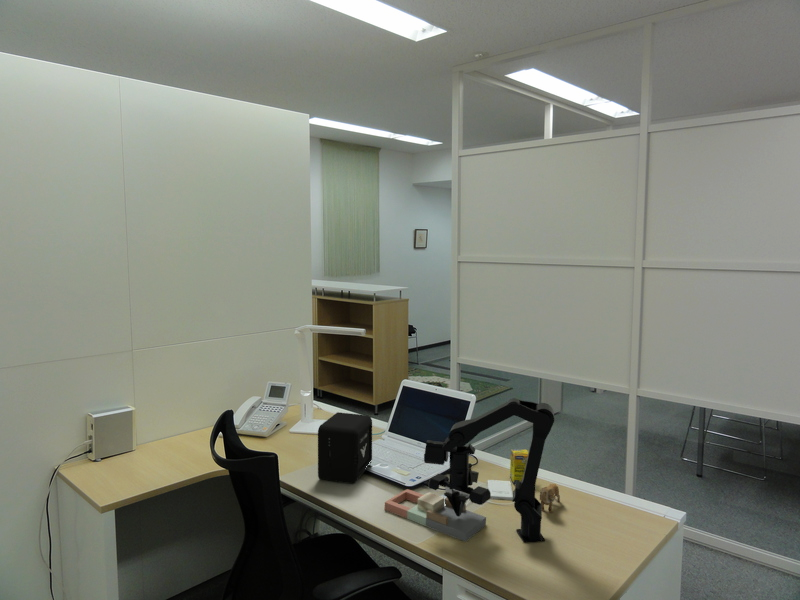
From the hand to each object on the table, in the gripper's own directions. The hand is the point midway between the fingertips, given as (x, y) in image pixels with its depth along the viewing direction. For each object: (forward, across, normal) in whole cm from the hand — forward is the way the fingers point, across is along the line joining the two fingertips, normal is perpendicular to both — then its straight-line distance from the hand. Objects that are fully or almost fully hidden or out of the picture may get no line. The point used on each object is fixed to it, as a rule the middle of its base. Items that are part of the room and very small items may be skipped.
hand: (458, 515), depth 160 cm
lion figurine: (+4, -17, -29) cm, 34 cm away
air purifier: (+3, +53, -7) cm, 53 cm away
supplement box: (+4, -1, -41) cm, 41 cm away
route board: (+3, +9, 0) cm, 9 cm away
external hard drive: (+4, +1, -29) cm, 30 cm away
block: (+1, +10, 0) cm, 10 cm away
